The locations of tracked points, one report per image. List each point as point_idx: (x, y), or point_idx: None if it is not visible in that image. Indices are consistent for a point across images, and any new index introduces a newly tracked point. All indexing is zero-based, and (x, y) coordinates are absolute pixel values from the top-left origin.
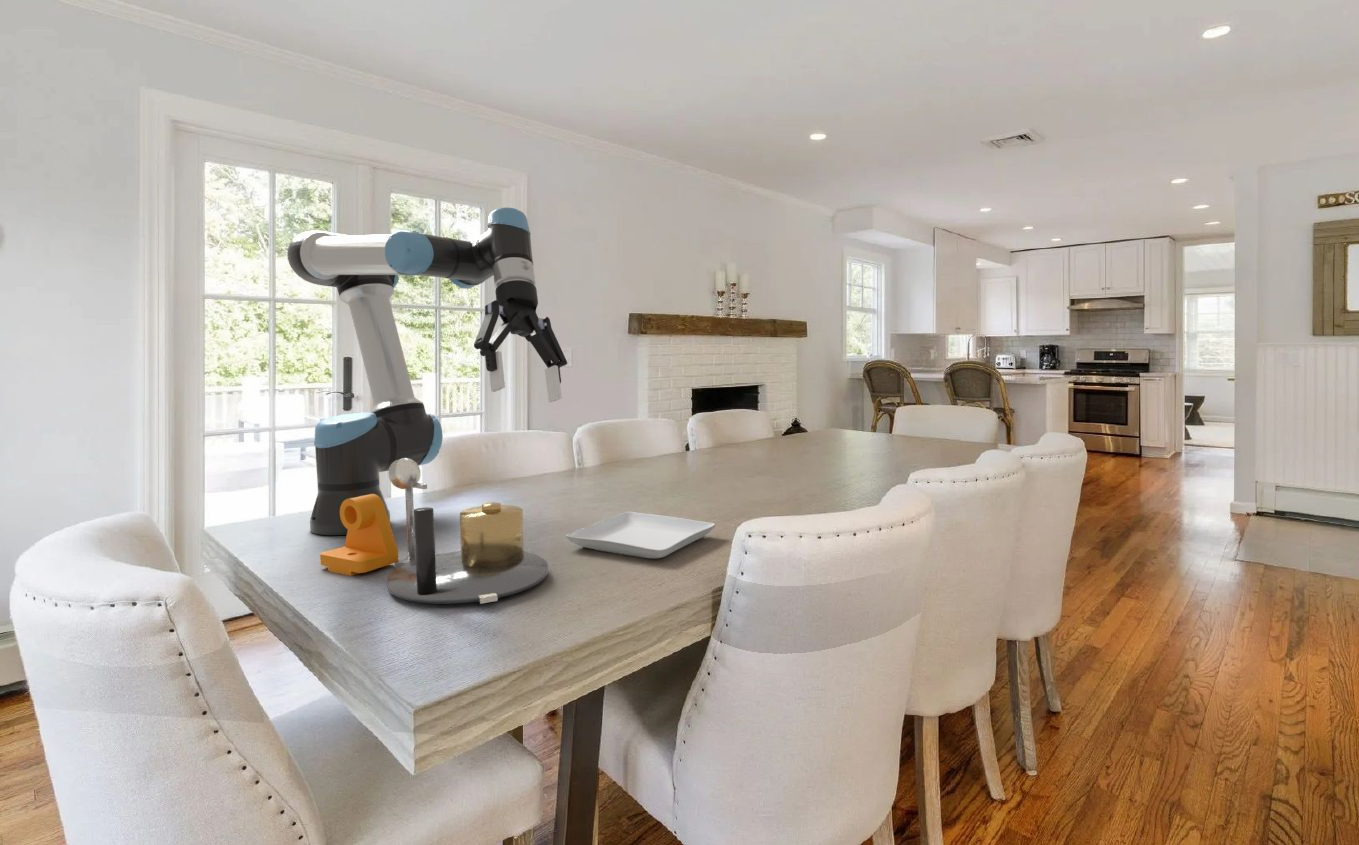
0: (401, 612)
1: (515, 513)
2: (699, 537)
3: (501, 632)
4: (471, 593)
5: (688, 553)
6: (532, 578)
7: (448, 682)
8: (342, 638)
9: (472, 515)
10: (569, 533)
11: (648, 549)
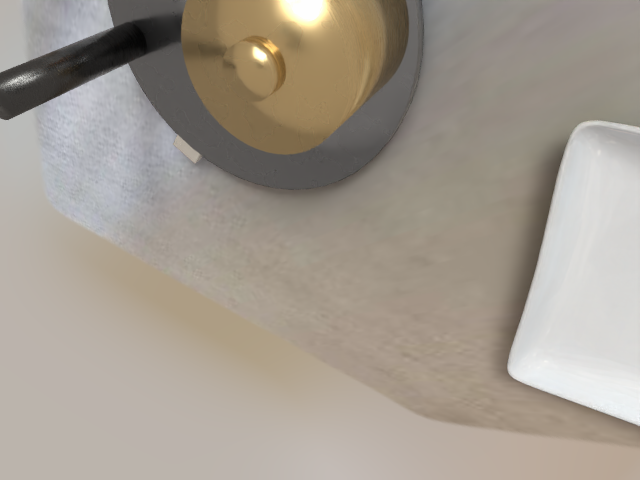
0: (109, 16)
1: (277, 148)
2: None
3: (161, 203)
4: (173, 121)
5: None
6: (275, 182)
7: (75, 209)
8: (28, 12)
9: (202, 42)
10: (609, 125)
11: (510, 350)
